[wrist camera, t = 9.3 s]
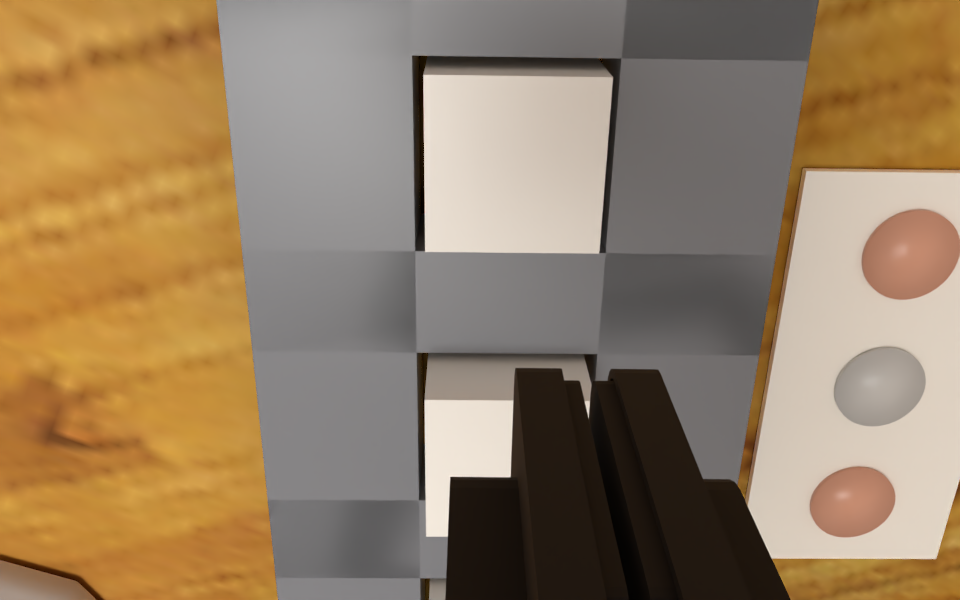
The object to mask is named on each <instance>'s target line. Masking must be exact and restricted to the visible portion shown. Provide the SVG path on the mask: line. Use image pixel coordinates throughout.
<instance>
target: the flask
mask: <svg viewBox="0 0 960 600" xmlns="http://www.w3.org/2000/svg"><path fill="white" fill-rule="evenodd" d="M0 600H96V599H95V598H94V597H93V596H92V595H91V594H90V593H89V592H88V591H87V590H86V589H85V588H84V587H83V586H82V585H81V584H79V583H78V582H77V581H75V580H71V579H67V578H64V577H60V576H56V575H53V574H49V573H45V572H42V571H38V570H35V569H31V568H27V567H24V566H20V565H16V564H13V563H9V562H5V561H2V560H0Z"/></svg>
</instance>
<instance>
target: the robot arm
mask: <svg viewBox="0 0 960 600" xmlns="http://www.w3.org/2000/svg"><path fill="white" fill-rule="evenodd" d="M445 600H790V598H789V596H788V593H787V591H786V589H785V587H784V585H783V582H782V580H781V578H780V576H779V574H778V572H777V569H776V567H775V565H774V563H773V561H772V558H771V556H770V554H769V552H768V550H767V548H766V545H765V543H764V541H763V539H762V537H761V534H760V532H759V530H758V528H757V526H756V524H755V521H754V519H753V517H752V515H751V513H750V511H749V508H748V506H747V504H746V502H745V500H744V497H743V495H742V493H741V491H740V489H739V488H738V486H737V484H736V483H735V482H734V481H732V480H730V479H703V477H702V475H701V472H700V470H699V468H698V465H697V463H696V460H695V458H694V455H693V453H692V450H691V448H690V445H689V443H688V440H687V438H686V435H685V433H684V430H683V428H682V425H681V423H680V420H679V418H678V415H677V413H676V410H675V408H674V405H673V403H672V401H671V398H670V396H669V393H668V391H667V388H666V386H665V383H664V381H663V378H662V376H661V373H660V372H659V370H658V369H611V370H610V372H609V375H608V381H593V382H592V386H591V394H590V407H589V418H588V414H587V409H586V405H585V401H584V396H583V392H582V387H581V383H580V381H579V380H564V376H563V372H562V369H561V368H515V375H514V397H513V425H512V452H511V477H450V493H449V519H448V545H447V570H446V596H445Z"/></svg>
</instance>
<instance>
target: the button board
mask: <svg viewBox="0 0 960 600" xmlns="http://www.w3.org/2000/svg"><path fill="white" fill-rule="evenodd" d="M216 1H217V11H218V21H219V30H220V40H221V50H222V60H223V69H224V79H225V89H226V98H227V108H228V118H229V128H230V137H231V147H232V157H233V167H234V176H235V186H236V196H237V205H238V215H239V225H240V235H241V244H242V254H243V264H244V273H245V283H246V293H247V303H248V312H249V322H250V332H251V341H252V351H253V361H254V371H255V380H256V390H257V400H258V409H259V419H260V429H261V439H262V448H263V458H264V468H265V478H266V487H267V497H268V507H269V516H270V526H271V536H272V546H273V555H274V565H275V575H276V584H277V594H278V600H425V578H446V570H447V545H448V537H426V488H425V444H423V378H422V353H516V354H584V358H585V362H586V366H587V369H588V373H589V377H590V381H591V385H592V382H593V381H608V375H609V372H610V370H611V369H658V370H659V372H660V373H661V376H662V378H663V381H664V383H665V386H666V388H667V391H668V393H669V396H670V398H671V401H672V403H673V405H674V408H675V410H676V413H677V415H678V418H679V420H680V423H681V425H682V428H683V430H684V433H685V435H686V438H687V440H688V443H689V445H690V448H691V450H692V453H693V455H694V458H695V460H696V463H697V465H698V468H699V470H700V472H701V475H702V477H703V479H730V480H732V481H734V482H735V483H736V484H737V485H738V479H739V473H740V467H741V461H742V455H743V449H744V443H745V437H746V431H747V425H748V419H749V413H750V407H751V401H752V395H753V389H754V383H755V377H756V371H757V365H758V359H759V353H760V347H761V341H762V335H763V329H764V323H765V318H766V312H767V306H768V300H769V294H770V288H771V282H772V276H773V270H774V264H775V258H776V252H777V246H778V240H779V234H780V228H781V222H782V216H783V210H784V204H785V198H786V192H787V186H788V180H789V174H790V168H791V162H792V156H793V150H794V144H795V139H796V133H797V127H798V121H799V115H800V109H801V103H802V97H803V91H804V85H805V79H806V73H807V67H808V61H809V55H810V49H811V43H812V37H813V31H814V25H815V19H816V13H817V7H818V1H819V0H216ZM418 56H481V57H551V58H602V64H603V65H604V67H605V68H606V69H607V70H608V72H609V73H610V74H611V75H612V77H613V84H612V97H611V110H610V123H609V135H608V148H607V161H606V174H605V187H604V200H603V212H602V225H601V238H600V251H599V254H582V253H482V252H425V214H420V137H419V57H418Z"/></svg>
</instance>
